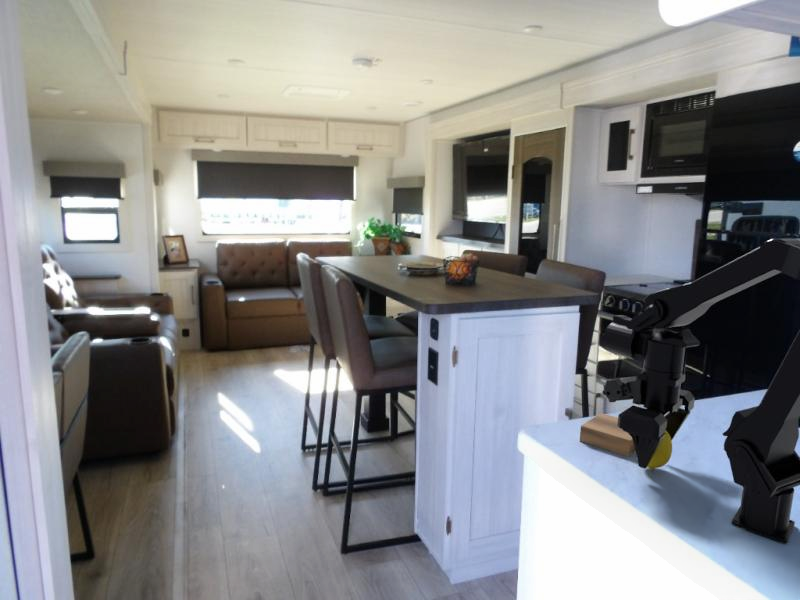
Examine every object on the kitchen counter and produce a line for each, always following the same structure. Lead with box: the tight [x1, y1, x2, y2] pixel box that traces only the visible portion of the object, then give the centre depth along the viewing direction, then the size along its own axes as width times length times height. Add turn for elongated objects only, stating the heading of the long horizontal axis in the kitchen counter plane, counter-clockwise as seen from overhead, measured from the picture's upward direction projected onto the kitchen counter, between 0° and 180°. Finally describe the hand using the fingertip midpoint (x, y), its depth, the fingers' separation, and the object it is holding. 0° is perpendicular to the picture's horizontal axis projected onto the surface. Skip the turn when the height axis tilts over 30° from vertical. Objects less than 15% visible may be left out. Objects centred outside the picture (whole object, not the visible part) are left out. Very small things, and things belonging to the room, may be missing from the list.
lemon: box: [647, 430, 673, 471], centre depth 92 cm, size 6×6×8 cm
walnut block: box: [579, 412, 636, 457], centre depth 103 cm, size 9×9×3 cm
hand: (652, 458), depth 92 cm, fingers open, 9 cm apart
